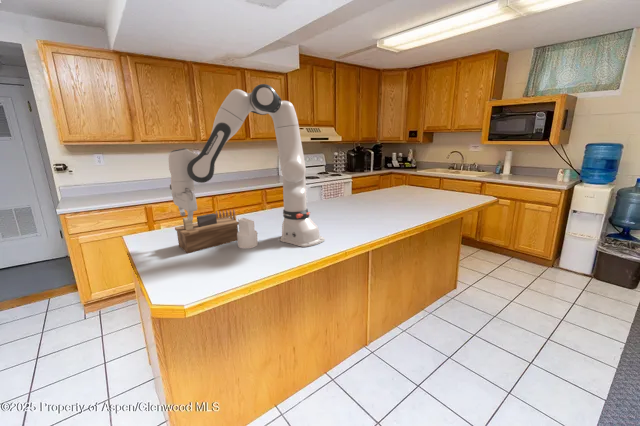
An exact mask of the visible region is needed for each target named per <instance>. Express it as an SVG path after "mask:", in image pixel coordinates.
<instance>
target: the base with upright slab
mask: <svg viewBox="0 0 640 426" xmlns="http://www.w3.org/2000/svg"><path fill="white" fill-rule="evenodd" d="M237 222H238V223H239V225H238V233H237V241H236V242H237V247H238V248H240V249H252V248H256V247H257V246H258V245H259V243H258V242H259V241H258V231H257V230H255V220H252V219H249V218H245V217H241V218H238V219H237Z"/></svg>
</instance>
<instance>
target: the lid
mask: <svg viewBox="0 0 640 426" xmlns="http://www.w3.org/2000/svg"><path fill="white" fill-rule="evenodd" d="M234 225H238V226H239V223H238V220H236V221H235V220H232V219H230V218H228V217H226V216H225V218H223V217H222V218H220V219H216V213H213V212H212V213H210V214H209V213H207V214H204V215H197V216H196V222H195V223H193V229H190V230H184V225H181V226H175V227H174V230H175V231H176V233H177V232H179V233H180V234H182V235H183V236H189V235H194V234H198V233H203V232H207V231H212V230H216V229H221V228H225V227H230V226H234Z"/></svg>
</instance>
